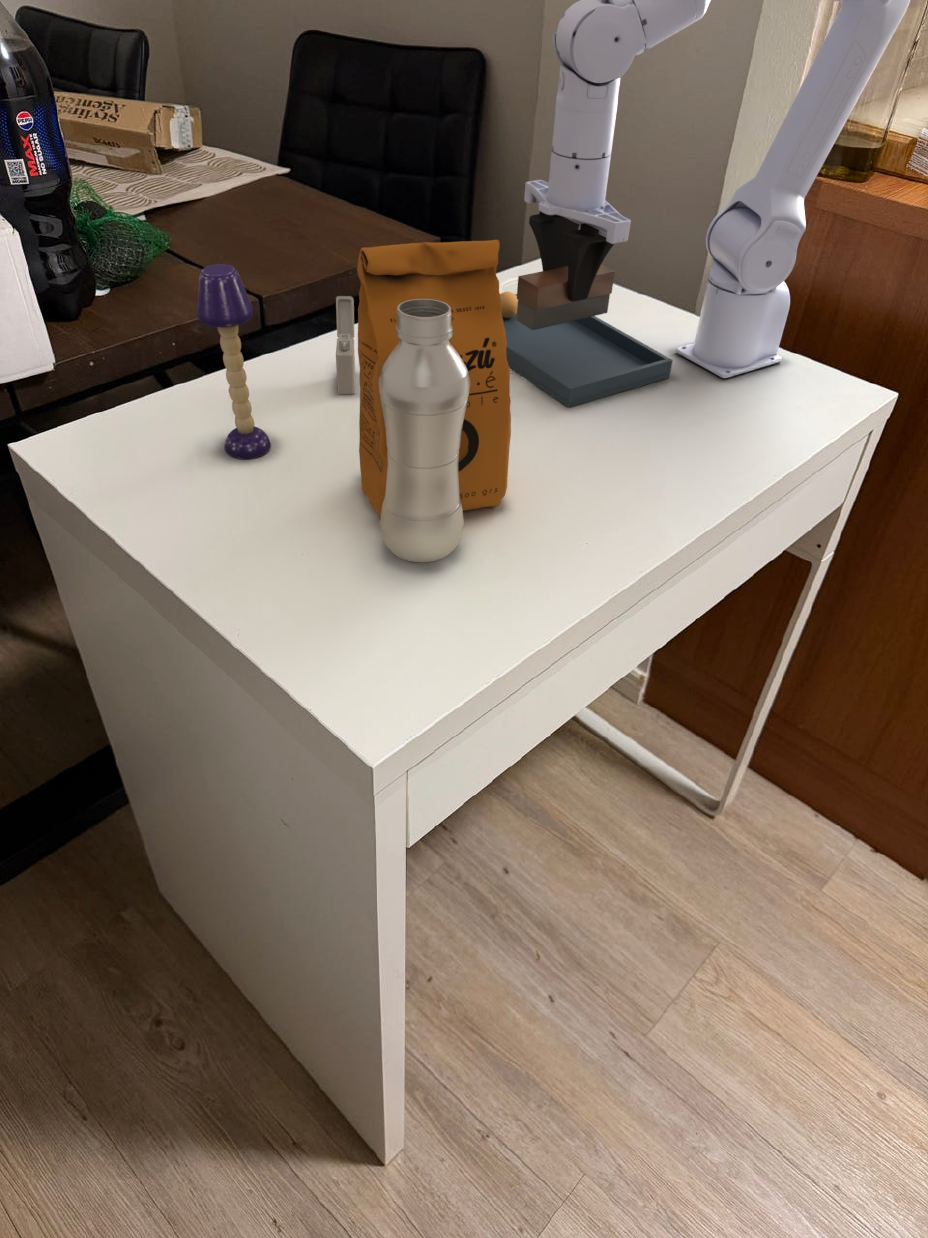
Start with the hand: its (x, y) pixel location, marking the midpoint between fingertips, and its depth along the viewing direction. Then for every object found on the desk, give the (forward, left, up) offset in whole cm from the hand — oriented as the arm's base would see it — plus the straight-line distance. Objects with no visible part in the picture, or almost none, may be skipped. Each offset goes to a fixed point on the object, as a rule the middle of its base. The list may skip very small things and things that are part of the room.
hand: (565, 292), depth 97 cm
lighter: (+22, -9, -9) cm, 25 cm away
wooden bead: (-2, -13, -6) cm, 14 cm away
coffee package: (+26, +15, -9) cm, 31 cm away
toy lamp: (+37, -1, -9) cm, 38 cm away
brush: (0, 0, -3) cm, 3 cm away
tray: (-2, -4, -8) cm, 9 cm away
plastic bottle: (+31, +22, -8) cm, 39 cm away
